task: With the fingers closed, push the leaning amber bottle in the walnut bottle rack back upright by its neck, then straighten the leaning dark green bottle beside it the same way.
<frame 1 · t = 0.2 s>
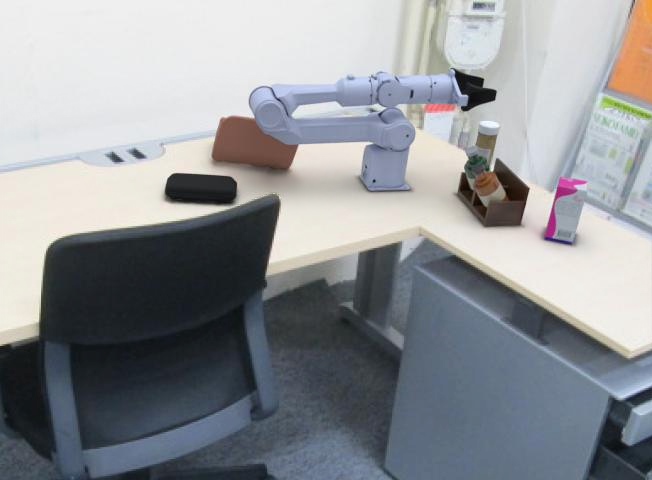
hand: (489, 89, 188), 21 cm above the table, tool horizontal, fingers open, 7 cm apart
dusty pink eraser: (255, 160, 203), on the table
carrying case: (201, 194, 186), on the table
rack: (487, 209, 190), on the table
dark green bottle: (477, 170, 188), point 7 cm above the table, hinge at 28.0°
supplement box: (558, 237, 181), on the table
amber bottle: (487, 186, 182), point 7 cm above the table, hinge at 38.0°
sprinkles bottle: (477, 182, 202), on the table
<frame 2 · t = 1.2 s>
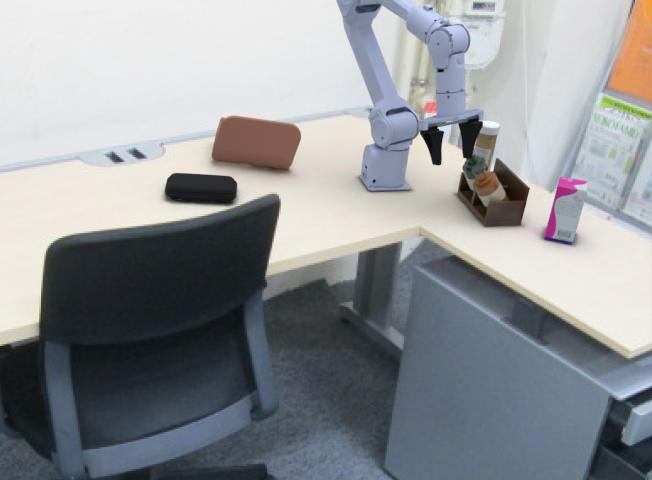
hand: (452, 161, 181), 11 cm above the table, tool tilted 15°, fingers open, 7 cm apart
dark green bottle: (476, 170, 188), point 7 cm above the table, hinge at 31.0°
everything else where it was.
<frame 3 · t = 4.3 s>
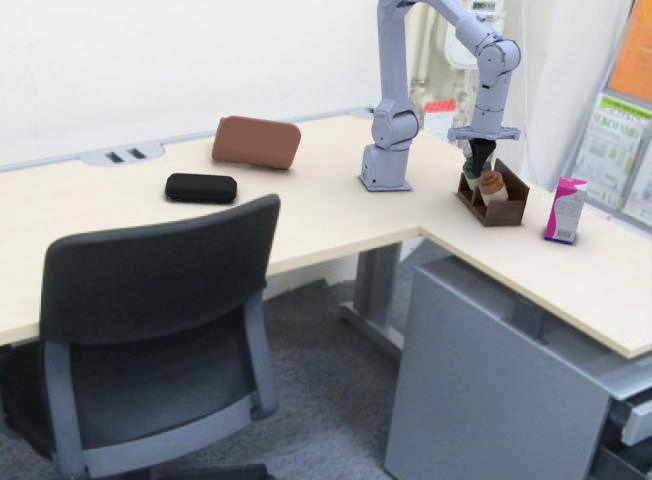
hand: (475, 174, 179), 10 cm above the table, tool pointing down, fingers closed, pressing on amber bottle
amber bottle: (491, 186, 182), point 7 cm above the table, hinge at 29.6°, touching gripper
everything else where it was.
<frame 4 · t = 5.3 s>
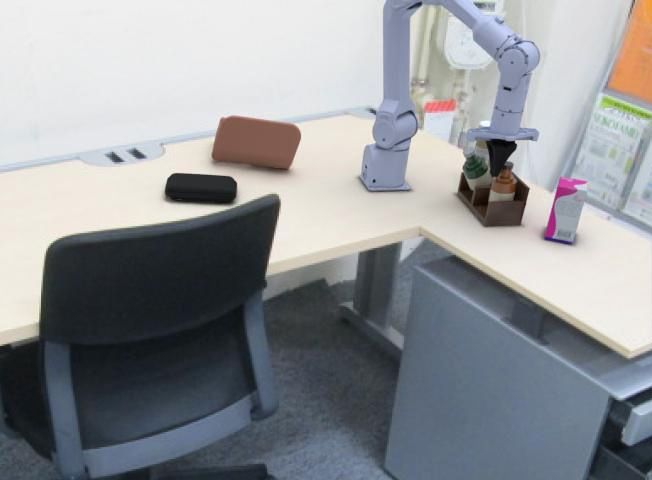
hand: (494, 175, 180), 9 cm above the table, tool pointing down, fingers closed
amber bottle: (503, 187, 183), point 7 cm above the table, hinge at 3.1°, touching gripper
everything else where it was.
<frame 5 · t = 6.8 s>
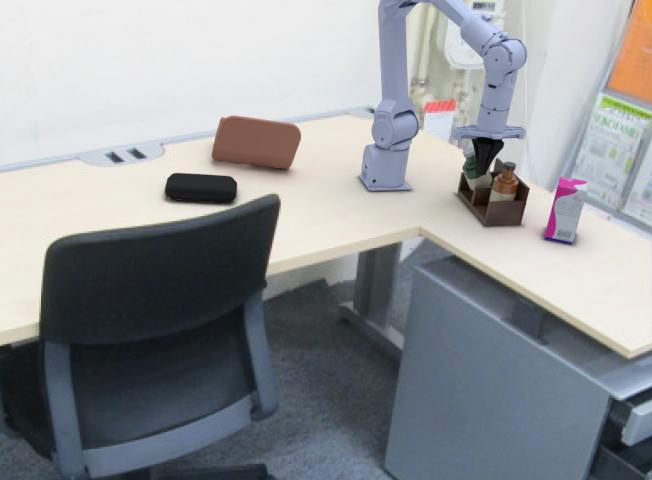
hand: (480, 173, 180), 10 cm above the table, tool pointing down, fingers closed
amber bottle: (504, 188, 183), point 6 cm above the table, hinge at -0.2°
everything else where it was.
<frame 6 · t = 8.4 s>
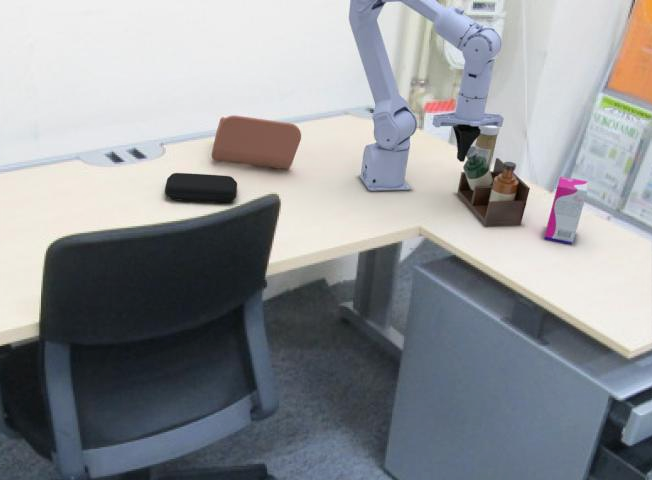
hand: (460, 159, 186), 10 cm above the table, tool pointing down, fingers closed
dark green bottle: (477, 170, 188), point 7 cm above the table, hinge at 29.2°, touching gripper
everything else where it was.
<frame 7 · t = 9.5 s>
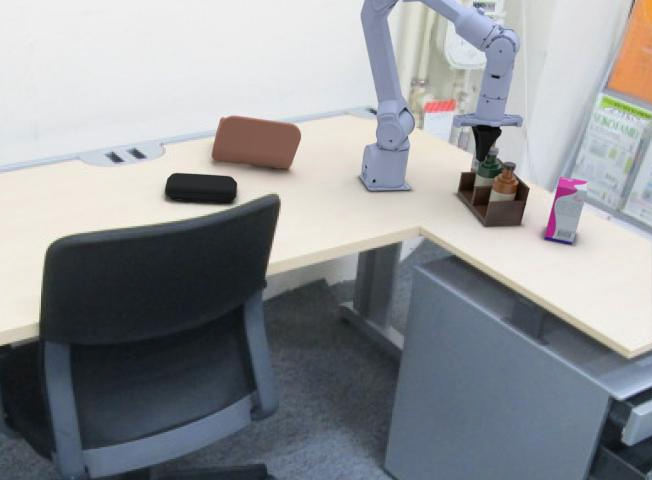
hand: (479, 160, 187), 9 cm above the table, tool pointing down, fingers closed
dark green bottle: (488, 172, 189), point 7 cm above the table, hinge at 1.7°, touching gripper
everything else where it was.
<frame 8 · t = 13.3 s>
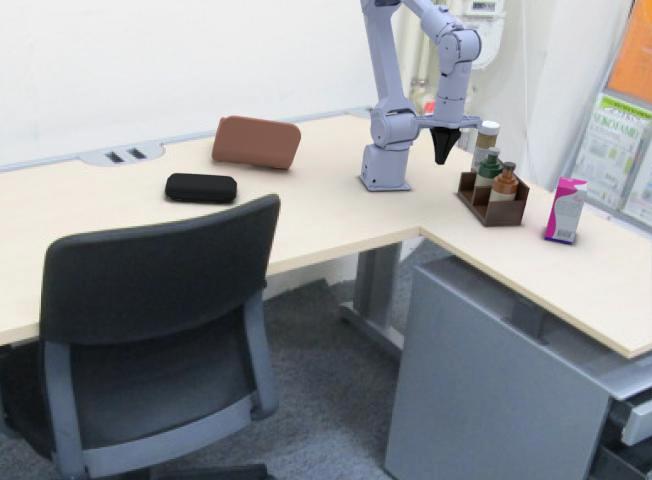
hand: (439, 163, 181), 10 cm above the table, tool pointing down, fingers closed
dark green bottle: (489, 173, 189), point 6 cm above the table, hinge at -0.2°
everything else where it was.
at the end: amber bottle at +0° (first picture: +38°); dark green bottle at +0° (first picture: +28°) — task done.
